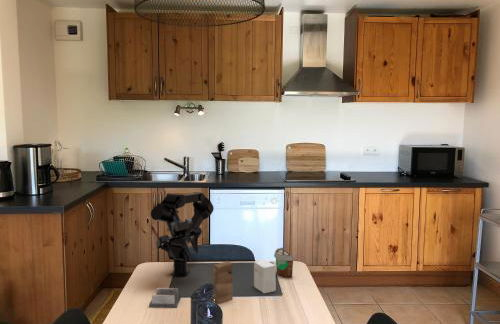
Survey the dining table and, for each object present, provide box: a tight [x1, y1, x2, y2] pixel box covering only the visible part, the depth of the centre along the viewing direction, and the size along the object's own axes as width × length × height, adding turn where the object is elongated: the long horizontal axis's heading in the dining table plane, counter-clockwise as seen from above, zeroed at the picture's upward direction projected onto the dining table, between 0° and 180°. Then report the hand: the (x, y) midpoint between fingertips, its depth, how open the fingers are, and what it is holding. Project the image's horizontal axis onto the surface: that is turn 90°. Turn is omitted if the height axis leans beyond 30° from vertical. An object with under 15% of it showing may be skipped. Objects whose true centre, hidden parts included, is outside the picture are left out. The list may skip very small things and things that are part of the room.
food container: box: [273, 247, 295, 278], centre depth 179 cm, size 12×6×10 cm, turn 17°
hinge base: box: [148, 287, 182, 309], centre depth 151 cm, size 8×10×4 cm
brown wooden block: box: [212, 261, 234, 305], centre depth 152 cm, size 4×6×14 cm, turn 127°
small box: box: [253, 259, 277, 294], centre depth 164 cm, size 8×6×10 cm
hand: (186, 256), depth 164 cm, fingers open, 9 cm apart
